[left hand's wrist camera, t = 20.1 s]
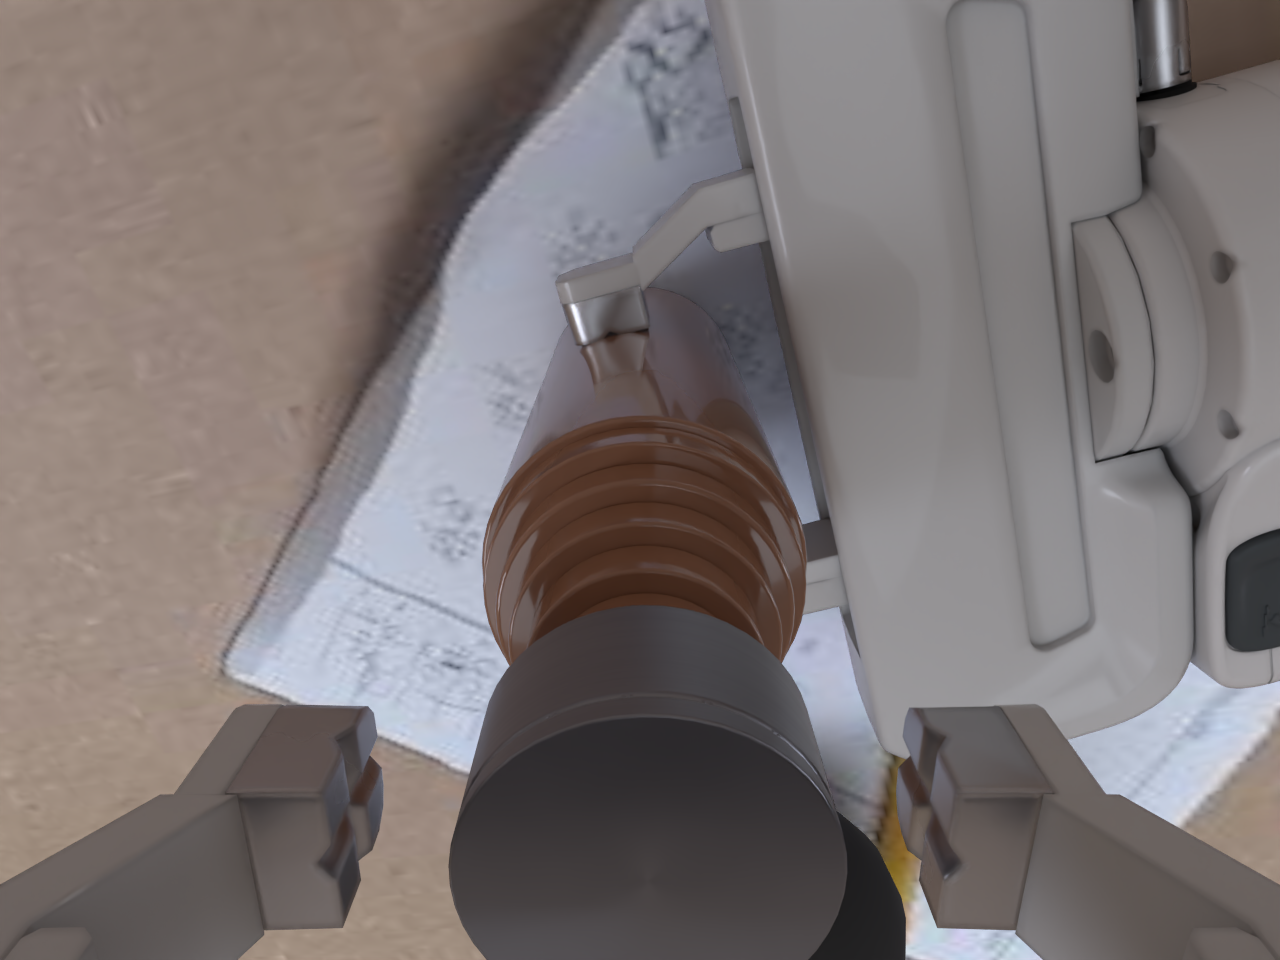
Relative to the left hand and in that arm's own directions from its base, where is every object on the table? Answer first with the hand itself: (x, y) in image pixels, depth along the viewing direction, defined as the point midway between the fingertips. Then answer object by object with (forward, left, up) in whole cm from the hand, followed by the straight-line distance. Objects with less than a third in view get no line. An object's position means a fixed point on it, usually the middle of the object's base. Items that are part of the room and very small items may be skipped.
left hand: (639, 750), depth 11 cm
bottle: (0, 0, -17) cm, 17 cm away
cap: (0, 0, +2) cm, 2 cm away
